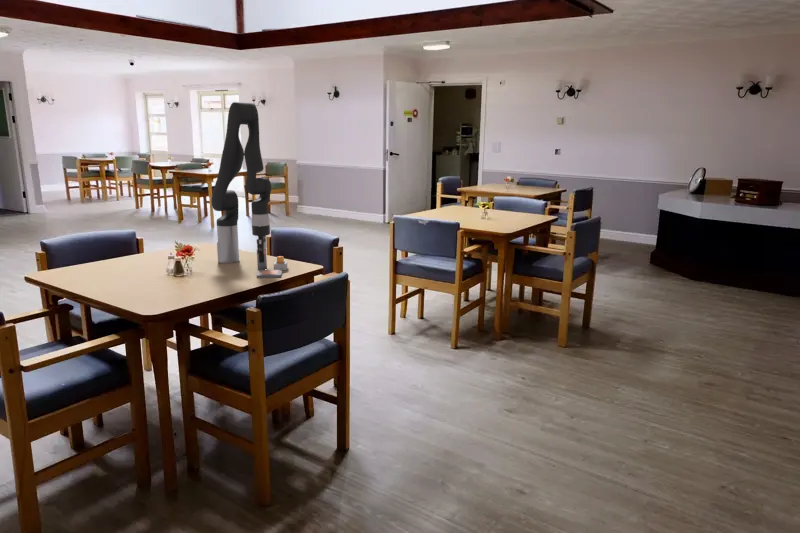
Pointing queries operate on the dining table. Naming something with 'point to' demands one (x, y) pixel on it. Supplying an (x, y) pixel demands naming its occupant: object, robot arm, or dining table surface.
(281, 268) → the button housing
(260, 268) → the grey upright block
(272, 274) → the picture board
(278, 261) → the button
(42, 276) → the dining table surface
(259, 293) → the dining table surface
